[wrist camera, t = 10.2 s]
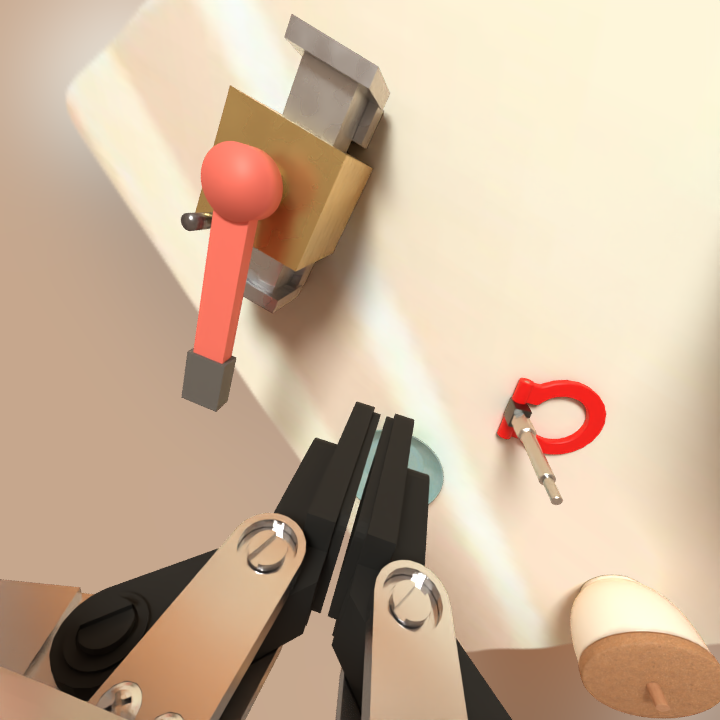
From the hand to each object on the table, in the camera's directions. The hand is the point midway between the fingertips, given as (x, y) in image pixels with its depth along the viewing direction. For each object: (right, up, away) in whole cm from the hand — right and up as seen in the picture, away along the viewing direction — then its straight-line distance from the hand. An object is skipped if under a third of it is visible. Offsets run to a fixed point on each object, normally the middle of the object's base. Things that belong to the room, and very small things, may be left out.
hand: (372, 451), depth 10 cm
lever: (-9, +7, +14) cm, 18 cm away
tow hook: (+19, -3, +27) cm, 33 cm away
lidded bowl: (+31, -26, +34) cm, 53 cm away
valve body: (-5, +18, +22) cm, 29 cm away
